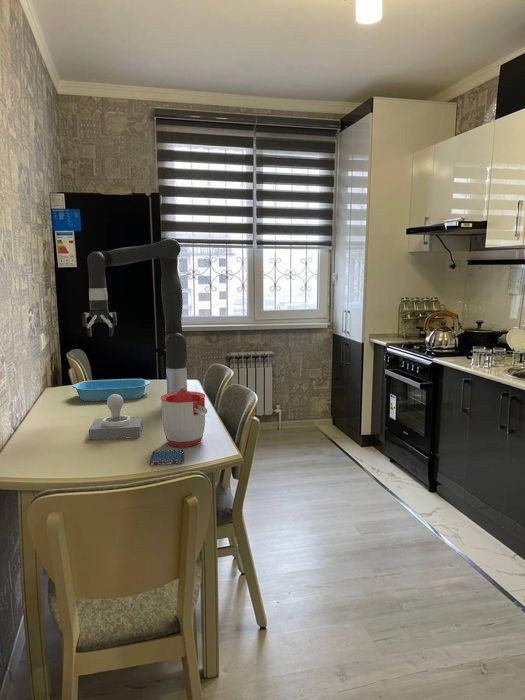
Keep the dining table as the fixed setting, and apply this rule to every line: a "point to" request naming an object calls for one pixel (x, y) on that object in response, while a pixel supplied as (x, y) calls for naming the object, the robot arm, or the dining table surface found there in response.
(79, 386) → the casserole dish
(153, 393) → the dining table surface
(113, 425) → the grey ring holder base
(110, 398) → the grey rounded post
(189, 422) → the citrus juicer
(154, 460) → the woven mat
